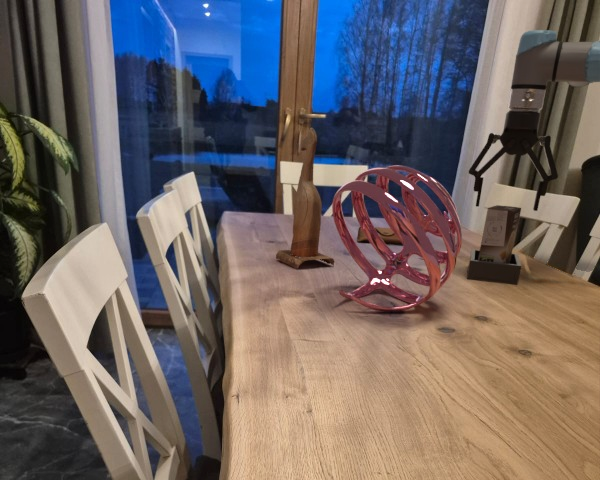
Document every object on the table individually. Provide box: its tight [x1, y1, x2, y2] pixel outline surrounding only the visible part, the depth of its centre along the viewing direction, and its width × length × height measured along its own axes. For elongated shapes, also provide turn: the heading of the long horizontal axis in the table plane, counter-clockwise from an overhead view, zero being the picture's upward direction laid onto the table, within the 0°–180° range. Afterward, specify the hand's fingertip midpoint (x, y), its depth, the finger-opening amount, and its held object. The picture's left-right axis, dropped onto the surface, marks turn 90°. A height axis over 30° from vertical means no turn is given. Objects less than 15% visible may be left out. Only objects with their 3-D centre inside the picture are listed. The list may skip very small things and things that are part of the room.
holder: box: [466, 248, 522, 285], centre depth 147 cm, size 12×15×5 cm
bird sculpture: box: [275, 127, 335, 270], centre depth 142 cm, size 11×12×32 cm
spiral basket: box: [331, 164, 463, 313], centre depth 114 cm, size 28×28×27 cm
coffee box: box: [478, 204, 522, 264], centre depth 144 cm, size 9×6×16 cm
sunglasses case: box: [356, 226, 403, 246], centre depth 181 cm, size 18×7×7 cm
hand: (505, 208), depth 140 cm, fingers open, 13 cm apart
